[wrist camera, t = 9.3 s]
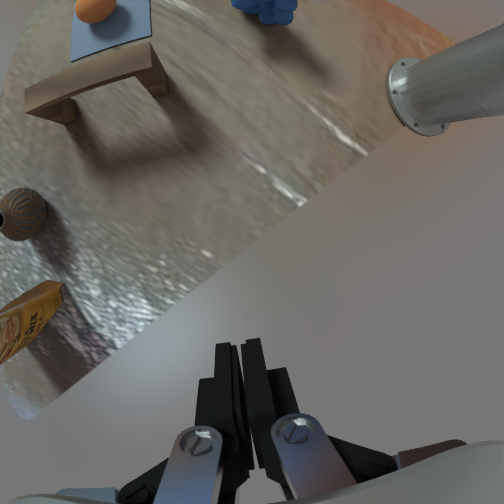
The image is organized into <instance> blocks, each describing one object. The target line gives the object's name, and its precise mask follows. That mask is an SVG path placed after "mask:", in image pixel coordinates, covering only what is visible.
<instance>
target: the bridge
mask: <svg viewBox="0 0 504 504" xmlns="http://www.w3.org/2000/svg"><path fill="white" fill-rule="evenodd" d="M133 76H136V78H137V79H138V80H139V81H140V82H141V84H142V85H143V86H144V87H145V88H146V89H147V91H148V92H149V93H150V94H151V95H152V97H155V96H160V95H164V94H168V86H167V77H166V72H165V70H164V68H163V66H162V64H161V62H160V60H159V59H158V57H157V55H156V53H155V51H154V49H153V47H152V45H151V43H150V42H147V43H143V44H139V45H136V46H132V47H129V48H125V49H122V50H119V51H116V52H112V53H109V54H106V55H103V56H100V57H98V58H95V59H92V60H89V61H87V62H84V63H81V64H79V65H76V66H74V67H71V68H69V69H66V70H64V71H62V72H59V73H57V74H55V75H53V76H51V77H48V78H46V79H44V80H42V81H40V82H38V83H36V84H34V85H32V86H30V87H28V88H26V89H25V113H26V114H30V115H33V116H37V117H40V118H44V119H47V120H50V121H54V122H57V123H60V124H63V125H64V124H67V123H70V122H72V121H75V120H76V111H75V100H74V99H72V98H70V97H72V96H75V95H77V94H80V93H83V92H86V91H88V90H91V89H94V88H97V87H100V86H103V85H106V84H109V83H112V82H115V81H119V80H122V79H125V78H129V77H133Z"/></svg>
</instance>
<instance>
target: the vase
mask: <svg viewBox="0 0 504 504" xmlns="http://www.w3.org/2000/svg"><path fill="white" fill-rule="evenodd" d="M45 220H46V205H45V202H44V200H43V198H42V196H41V195H40V194H39V193H37V192H36V191H34V190H32V189H29V188H18V189H15V190H12V191H10V192H9V193H8V194H6V195H5V196H4V197H3V198H2V200H1V201H0V232H1V233H2V234H3V235H4V236H5V237H7V238H8V239H10V240H14V241H24V240H28V239H30V238H32V237H34V236H35V235H36V234H37V233H38V232H39V231H40V230H41V229H42V227H43V225H44V223H45Z"/></svg>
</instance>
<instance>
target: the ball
mask: <svg viewBox="0 0 504 504" xmlns="http://www.w3.org/2000/svg"><path fill="white" fill-rule="evenodd" d="M116 3H117V0H77V1H76V4H75V14H76V16H77V18H78V19H79V20H81V21H82V22H85V23H97V22H100V21H102V20H104V19H106V18H107V17H108V16H110V15H111V13H112V12H113V11H114V9H115V7H116Z"/></svg>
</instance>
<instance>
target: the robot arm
mask: <svg viewBox="0 0 504 504" xmlns="http://www.w3.org/2000/svg"><path fill="white" fill-rule="evenodd" d="M386 82H387V93H388V97H389V100H390V104H391V106H392V108H393V110H394V112H395V113H396V115H397V116H398V118H399V119H400V120H401V121H402V122H403V124H404V125H405V126H407V127H408V128H409V129H410V130H412V131H413V132H415V133H417V134H419V135H422V136H436V135H439V134H441V133H443V132H444V131H445V130H446V129H447V128H448V126H449V125H450V123H451V122H456V121H463V120H469V119H476V118H483V117H491V116H499V115H504V23H503V24H501V25H499V26H497V27H495V28H492V29H490V30H488V31H486V32H484V33H481V34H479V35H477V36H474V37H472V38H470V39H467V40H465V41H462V42H460V43H458V44H456V45H453V46H451V47H449V48H447V49H445V50H443V51H440V52H438V53H436V54H434V55H432V56H430V57H428V58H426V59H424V60H421V59H418V58H413V57H407V58H403V59H401V60H399V61H397V62H396V63H394V64H393V65H392V67H391V68H390V70H389V72H388V75H387V80H386ZM241 353H242V365H243V376H244V382H243V377H242V372H241V367H240V361H239V356H238V351H237V346H236V345H233V346H231V344H230V342H227V343H219V344H216V349H215V368H214V369H215V370H214V377H213V378H204V379H200V380H199V387H198V396H197V406H196V417H195V426H194V427H190V428H188V429H186V430H184V431H182V432H181V433H180V434H179V435H178V436H177V438H176V440H175V442H174V445H173V448H172V451H171V454H170V457H169V458H167V459H166V460H164V461H163V462H161V463H160V464H158V465H157V466H155V467H153V468H152V469H150V470H149V471H147V472H146V473H144V474H143V475H141V476H139V477H138V478H136V479H134V480H133V481H131V482H129V483H128V484H126V485H125V486H124V487H123V488H122V489H118V490H117V489H116V488H115V487H108V488H107V487H106V488H67V489H62V490H60V491H58V492H57V493H56V494H29V495H24V496H20V497H17V498H15V499H13V500H12V501H11V502H10V503H9V504H239V496H240V485H242V484H243V483H244V482H245V481H246V480H247V478H250V476H249V470H253V469H255V467H254V458H253V450H252V440H251V434H252V438H253V443H254V447H255V451H256V455H257V460H258V464H259V468H260V469H261V468H265V470H266V475H267V477H268V478H270V479H272V480H274V481H275V482H278V483H279V487H280V490H281V492H282V494H283V497H284V499H285V501H283V502H276V503H269V504H504V442H503V441H484V442H478V443H472V444H467V443H465V442H463V441H462V440H457V439H454V440H448V441H444V442H440V443H436V444H433V445H429V446H424V447H420V448H415V449H411V450H406V451H400V452H398V454H397V455H394V456H389V455H387V454H385V453H382V452H378V451H375V450H372V449H368V448H365V447H362V446H359V445H356V444H352V443H349V442H346V441H343V440H340V439H337V438H335V437H332V436H329V435H326V433H325V431H324V430H323V428H322V427H321V425H320V423H319V422H318V421H317V420H316V419H315V418H314V417H312V416H310V415H307V414H303V413H300V412H299V409H298V405H297V402H296V399H295V395H294V392H293V389H292V385H291V382H290V379H289V376H288V373H287V369H286V367H284V368H278V369H272V370H266V366H265V361H264V355H263V351H262V346H261V341H260V338H255V339H248V340H246V344H241ZM244 386H245V387H244ZM250 429H251V431H250Z"/></svg>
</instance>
